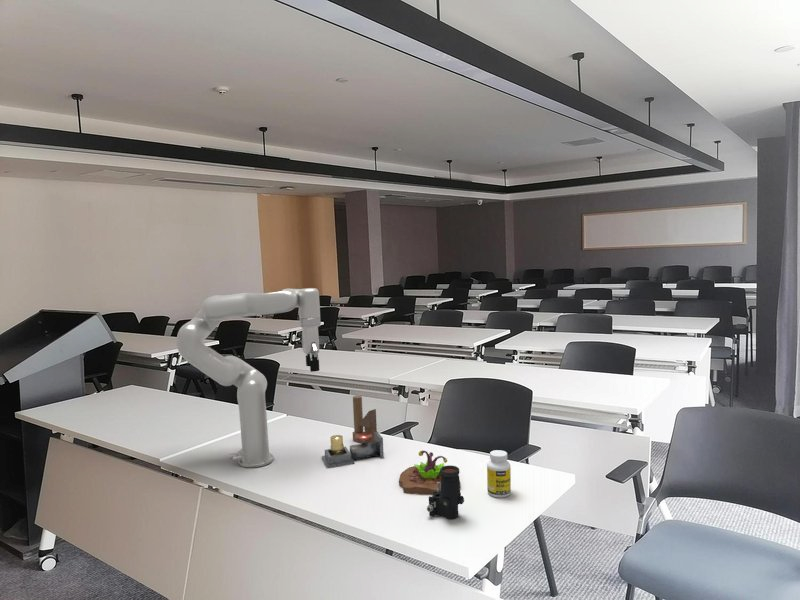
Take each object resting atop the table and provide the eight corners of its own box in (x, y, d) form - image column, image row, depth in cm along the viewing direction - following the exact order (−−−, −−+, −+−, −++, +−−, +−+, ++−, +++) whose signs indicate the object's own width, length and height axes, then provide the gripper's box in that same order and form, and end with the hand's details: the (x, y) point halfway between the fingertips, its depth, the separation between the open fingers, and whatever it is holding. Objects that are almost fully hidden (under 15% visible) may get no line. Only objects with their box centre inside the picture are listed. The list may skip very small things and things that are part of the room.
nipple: (332, 461, 205) (331, 439, 205) (330, 457, 210) (328, 435, 209) (345, 459, 207) (344, 438, 206) (342, 455, 211) (341, 434, 211)
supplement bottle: (495, 500, 172) (494, 458, 171) (483, 491, 179) (482, 451, 178) (515, 495, 175) (514, 454, 174) (502, 486, 182) (501, 447, 180)
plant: (399, 471, 197) (398, 440, 196) (456, 470, 197) (455, 438, 196) (398, 497, 177) (397, 462, 176) (462, 496, 177) (461, 461, 176)
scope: (436, 460, 169) (468, 465, 164) (437, 505, 170) (469, 512, 166) (424, 471, 162) (457, 476, 157) (426, 518, 163) (458, 524, 159)
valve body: (326, 468, 202) (325, 445, 201) (321, 458, 212) (320, 436, 211) (384, 459, 208) (383, 437, 208) (377, 450, 218) (376, 429, 217)
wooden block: (371, 446, 222) (368, 401, 220) (352, 440, 229) (350, 396, 227) (377, 444, 224) (375, 399, 223) (359, 438, 232) (357, 394, 230)
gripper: (296, 320, 216) (299, 365, 218) (303, 326, 200) (306, 374, 201) (316, 318, 218) (318, 362, 220) (324, 324, 202) (327, 372, 204)
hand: (312, 368), depth 211 cm, fingers open, 9 cm apart
